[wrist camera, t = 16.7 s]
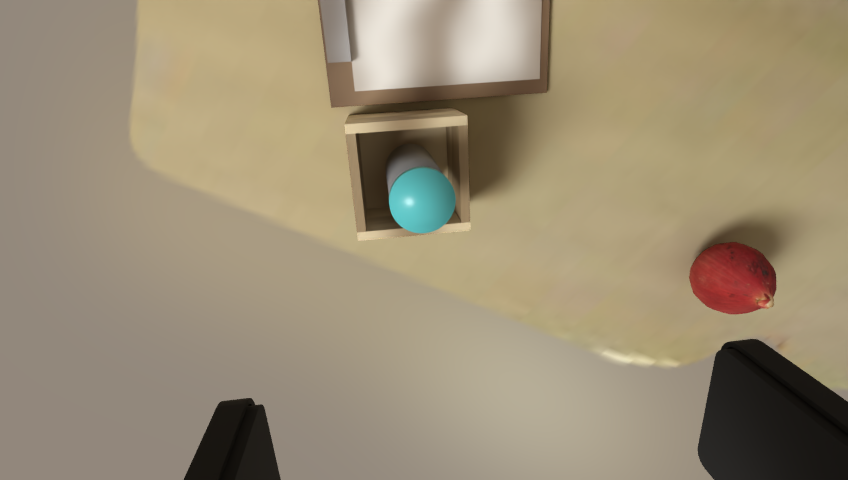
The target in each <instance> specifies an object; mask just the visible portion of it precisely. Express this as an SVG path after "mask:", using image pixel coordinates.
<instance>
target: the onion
mask: <svg viewBox="0 0 848 480" xmlns="http://www.w3.org/2000/svg"><path fill="white" fill-rule="evenodd" d="M689 279H690V283H691V287H692V290H693V293H694V294H695V295H696V296H697V297H698V298H699V299H700V301H702V302H703V303H704V304H705V305H706V306H707V307H709V308H712V309H714V310H717V311H720V312H723V313H727V314H743V313H750V312H753V311H755V310H758V309H761V308H765V309H768V308H770V307H773V305H774V303H773V302H774V299H773V296H774V294H775V291H776V273H775V270H774V268H773V267H772V266H771V264H770V263H769V262H768V260H767V259H766V258H765V257H764V255H763V254H762V253H760V252H759V251H758V250H756V249H754V248H751V247H749V246H746V245H744V244H740V243H737V242H730V243H720V244H716V245H713V246H712V247H710V248H708V249H706V250H704V251H703V252H702V253H701V254H700V255H699V256H698V257H697V258H696V259H695V261H694V263H693V265H692V267H691V270H690V276H689Z"/></svg>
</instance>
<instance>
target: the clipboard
mask: <svg viewBox="0 0 848 480" xmlns="http://www.w3.org/2000/svg"><path fill="white" fill-rule="evenodd" d="M318 5H319V13H320V20H321V28H322V36H323V44H324V52H325V60H326V68H327V76H328V84H329V92H330V100H331V108H332V107H346V106H361V105H375V104H389V103H403V102H418V101H432V100H446V99H460V98H474V97H489V96H503V95H517V94H531V93H546V92H547V68H548V36H549V5H550V0H318Z"/></svg>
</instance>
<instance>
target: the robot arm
mask: <svg viewBox="0 0 848 480" xmlns="http://www.w3.org/2000/svg"><path fill="white" fill-rule="evenodd" d="M698 456H699V458H700V461H701V463H702V465H703V466H704V468H705V469H706V470H707V472H708V473H709V474H710V475H711V476H712V478H713V479H714V480H848V402H847V401H846V400H844V399H843V398H842V397H840V396H839V395H837V394H836V393H834V392H833V391H832V390H830V389H829V388H827V387H826V386H824V385H823V384H822V383H820V382H819V381H817V380H816V379H814V378H813V377H812V376H810V375H809V374H807V373H806V372H804V371H803V370H802V369H800V368H799V367H797V366H796V365H795V364H793V363H792V362H790V361H789V360H787V359H786V358H785V357H783V356H782V355H780V354H779V353H777V352H776V351H775V350H773V349H772V348H770V347H769V346H767V345H766V344H765V343H763V342H761V341H759V340H757V339H748V340H740V341H731V342H727V343H725V344H724V345H723V346H722V348H721V350H720V351H718V352H717V353H716V356H715V361H714V367H713V372H712V376H711V382H710V387H709V392H708V397H707V403H706V408H705V413H704V419H703V423H702V429H701V434H700V439H699V444H698ZM184 480H281V479H280V475H279V471H278V466H277V462H276V457H275V453H274V448H273V444H272V439H271V435H270V431H269V426H268V422H267V417H266V413H265V409H264V406H263V405H255V403H254V401H253V400H252V399H251V398H246V399H237V400H229V401H222V402H220V403H219V404H218V406H217V408H216V410H215V412H214V414H213V416H212V419H211V421H210V423H209V425H208V427H207V430H206V432H205V434H204V436H203V438H202V441H201V443H200V445H199V447H198V449H197V452H196V454H195V456H194V458H193V460H192V463H191V465H190V467H189V469H188V471H187V474H186V476H185V478H184Z"/></svg>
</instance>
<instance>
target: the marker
mask: <svg viewBox="0 0 848 480" xmlns="http://www.w3.org/2000/svg"><path fill="white" fill-rule="evenodd" d="M385 169H386V177H387V185H388V192H389V206H390V211H391V214H392V216H393V218H394V219H395V221H396V222H397V223H398V224H399V225H400V226H401V227H403V228H404V229H406V230H408V231H411V232H414V233H429V232H433V231H435V230H437V229H439V228H441V227H442V226H443V225H445V224H446V223H447V222H448V220H449V219H450V218H451V216H452V214H453V212H454V209H455V204H456V197H455V192H454V189H453V186H452V185H451V183H450V181H449V180H448V179H447V177H446V176H445V175H444V174H443V173H442V171H441V170H440V168H439V167H438V165H437V164H436V162H435V161H434V159H433V158H432V156H431V155H430V153H429V152H428V151H427V150H426V149H425V148H423V147H422V146H420V145H417V144H403V145H400V146H398V147H397V148H395V149H394V150H393V151H392V152H391V153H390V155H389V156H388V158H387V161H386V166H385Z"/></svg>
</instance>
